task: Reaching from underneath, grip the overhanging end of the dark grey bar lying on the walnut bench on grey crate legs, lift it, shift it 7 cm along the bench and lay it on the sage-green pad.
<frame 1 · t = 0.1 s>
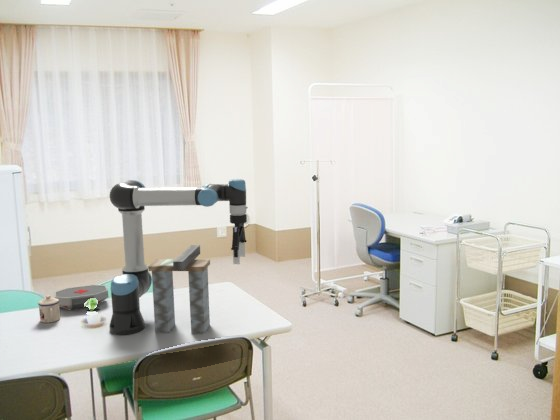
hand: (239, 260, 245), 28 cm above the table, tool pointing down, fingers open, 13 cm apart
teacup with lid: (50, 321, 252), on the table
dark grey bar: (187, 261, 236), point 30 cm above the table, touching bench
first aid kit: (82, 305, 273), on the table
bench: (183, 328, 239), on the table
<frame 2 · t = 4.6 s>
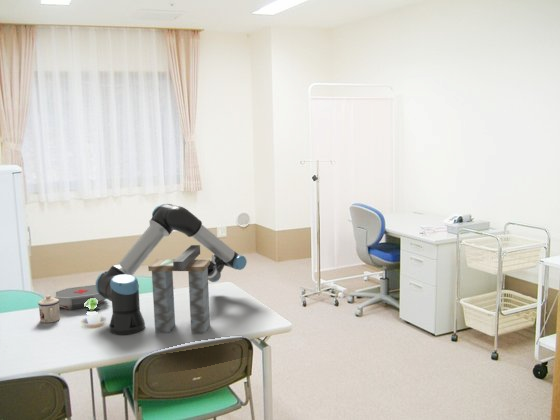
hand: (198, 257, 255), 27 cm above the table, tool pointing upward, fingers open, 13 cm apart
nothing on the table moved.
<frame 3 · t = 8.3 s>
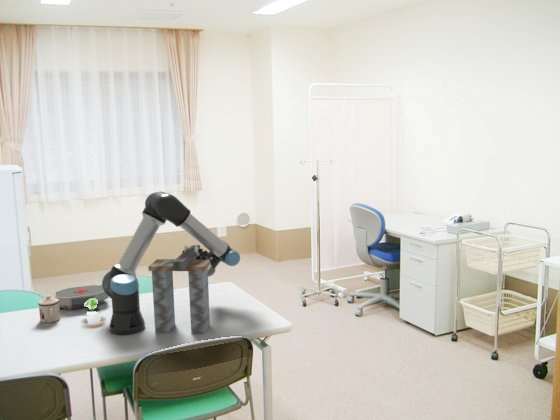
hand: (190, 248, 241), 35 cm above the table, tool pointing upward, fingers closed on dark grey bar, 4 cm apart
dark grey bar: (187, 261, 236), point 30 cm above the table, touching bench, gripper
everything else where it was.
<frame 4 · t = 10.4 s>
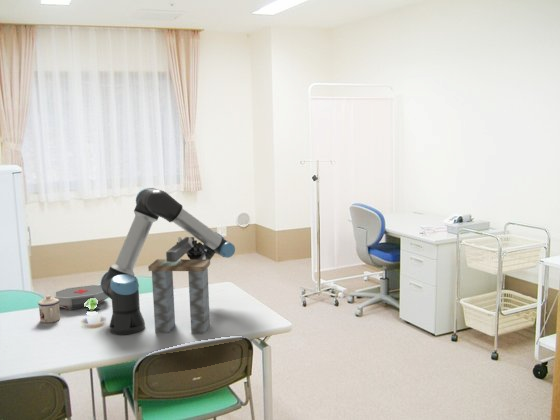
hand: (184, 240, 240), 39 cm above the table, tool pointing upward, fingers closed on dark grey bar, 4 cm apart
dark grey bar: (181, 253, 236), point 34 cm above the table, touching gripper
everything else where it was.
when the fingers open (36 cm above the table, at t = 12.7 s): dark grey bar drops 1 cm, resting on bench.
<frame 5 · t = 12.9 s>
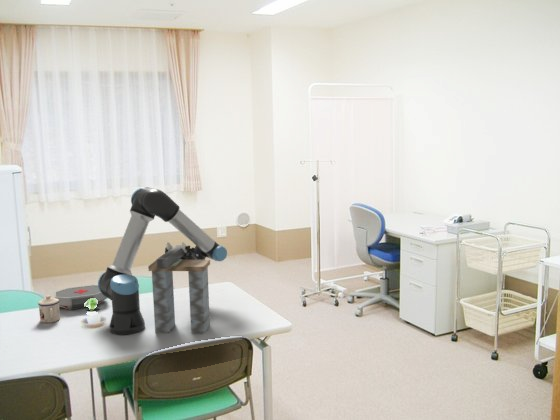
hand: (175, 245, 241), 36 cm above the table, tool pointing upward, fingers open, 6 cm apart
dark grey bar: (172, 260, 237), point 30 cm above the table, touching bench
everything else where it was.
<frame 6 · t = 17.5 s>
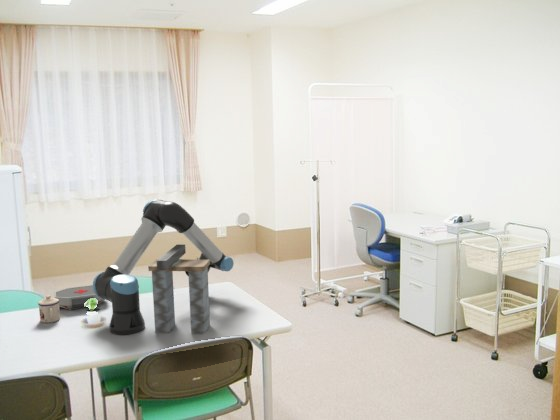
hand: (183, 260, 254), 26 cm above the table, tool pointing upward, fingers open, 13 cm apart
nothing on the table moved.
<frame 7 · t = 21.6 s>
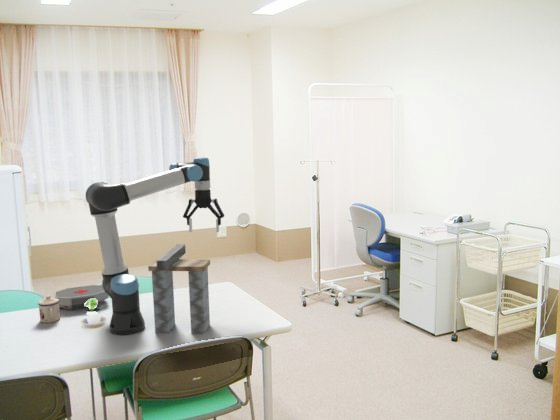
hand: (204, 231, 267), 37 cm above the table, tool pointing down, fingers open, 13 cm apart
nothing on the table moved.
at the end: dark grey bar inside the target area on the bench (0.2 cm from its centre), point 30.3 cm above the bench's base; dark grey bar touching bench; the gripper is holding nothing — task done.
